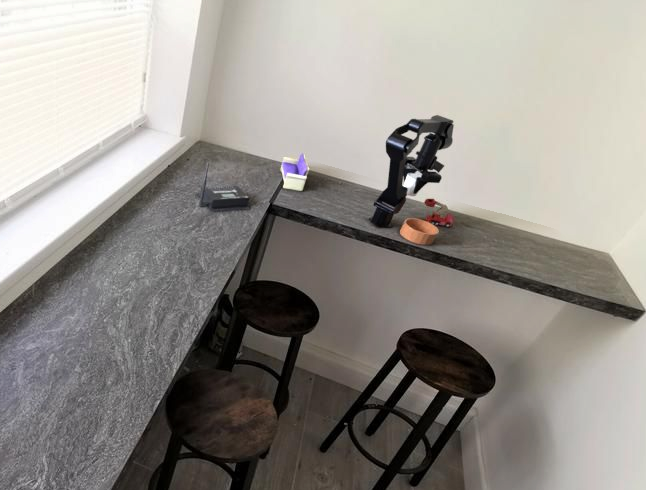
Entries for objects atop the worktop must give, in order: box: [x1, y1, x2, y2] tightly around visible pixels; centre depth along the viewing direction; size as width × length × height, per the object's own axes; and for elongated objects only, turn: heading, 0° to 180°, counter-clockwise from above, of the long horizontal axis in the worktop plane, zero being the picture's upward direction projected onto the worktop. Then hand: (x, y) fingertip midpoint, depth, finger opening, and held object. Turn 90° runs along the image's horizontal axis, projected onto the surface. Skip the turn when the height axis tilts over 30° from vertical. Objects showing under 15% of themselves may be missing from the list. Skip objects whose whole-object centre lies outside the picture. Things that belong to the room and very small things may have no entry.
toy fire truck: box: [424, 198, 455, 228], centre depth 197 cm, size 3×14×10 cm, turn 84°
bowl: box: [399, 217, 440, 246], centre depth 187 cm, size 12×12×4 cm
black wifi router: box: [198, 162, 251, 212], centre depth 185 cm, size 20×14×17 cm
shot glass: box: [402, 172, 422, 197], centre depth 191 cm, size 7×7×7 cm
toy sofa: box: [279, 153, 310, 192], centre depth 213 cm, size 21×9×10 cm, turn 172°
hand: (410, 189), depth 193 cm, fingers closed on shot glass, 6 cm apart
